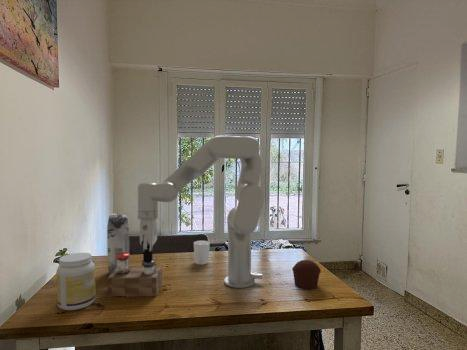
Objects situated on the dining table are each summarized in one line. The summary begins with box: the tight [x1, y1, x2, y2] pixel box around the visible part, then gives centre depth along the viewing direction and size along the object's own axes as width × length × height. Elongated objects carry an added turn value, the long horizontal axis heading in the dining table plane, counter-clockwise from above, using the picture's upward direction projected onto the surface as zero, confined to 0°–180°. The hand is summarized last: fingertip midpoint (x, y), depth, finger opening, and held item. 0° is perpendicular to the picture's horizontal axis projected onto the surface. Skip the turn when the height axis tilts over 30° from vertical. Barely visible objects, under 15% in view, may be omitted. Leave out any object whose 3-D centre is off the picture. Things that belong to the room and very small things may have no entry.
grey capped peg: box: [141, 259, 156, 274], centre depth 127 cm, size 5×5×10 cm
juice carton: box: [106, 212, 130, 276], centre depth 144 cm, size 9×10×27 cm
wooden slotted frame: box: [106, 266, 163, 298], centre depth 127 cm, size 12×18×7 cm, turn 93°
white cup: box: [193, 240, 211, 266], centre depth 160 cm, size 8×8×10 cm
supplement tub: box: [56, 252, 96, 311], centre depth 115 cm, size 12×12×17 cm
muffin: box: [291, 259, 322, 291], centre depth 132 cm, size 12×11×10 cm
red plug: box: [116, 252, 131, 275], centre depth 126 cm, size 5×5×10 cm
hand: (147, 261), depth 126 cm, fingers closed
